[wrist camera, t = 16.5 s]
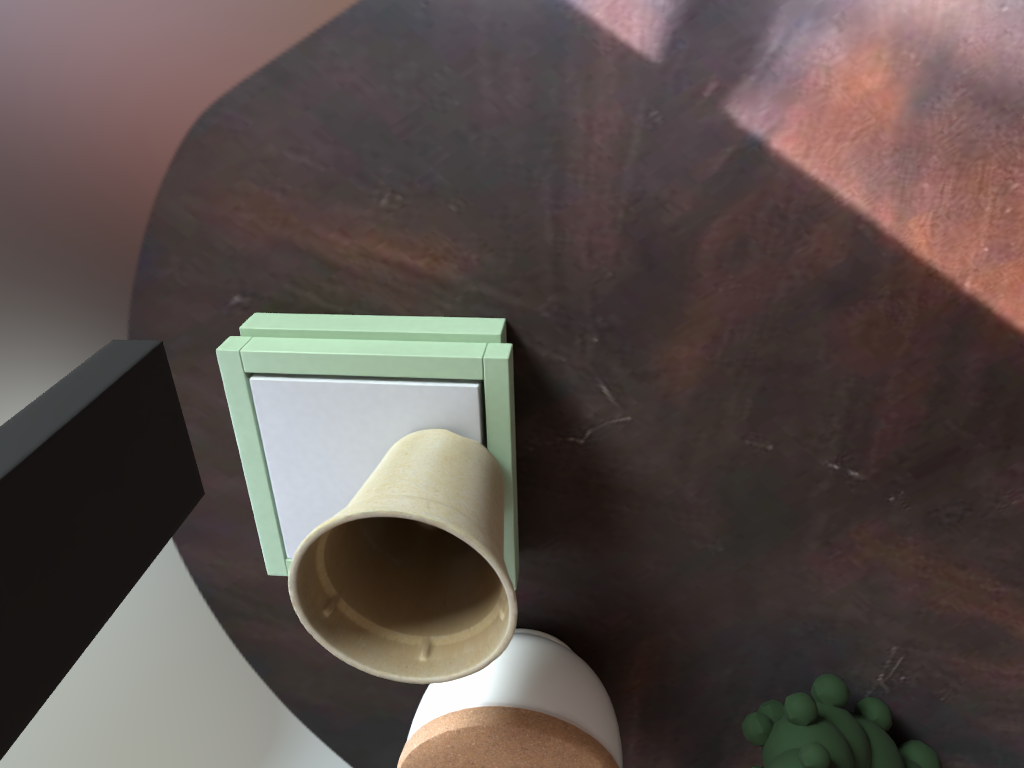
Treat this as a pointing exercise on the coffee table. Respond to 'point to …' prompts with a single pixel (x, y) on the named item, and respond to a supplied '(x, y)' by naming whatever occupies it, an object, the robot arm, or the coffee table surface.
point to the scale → (368, 352)
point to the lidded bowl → (518, 714)
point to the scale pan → (347, 434)
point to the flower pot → (413, 566)
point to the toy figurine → (831, 732)
